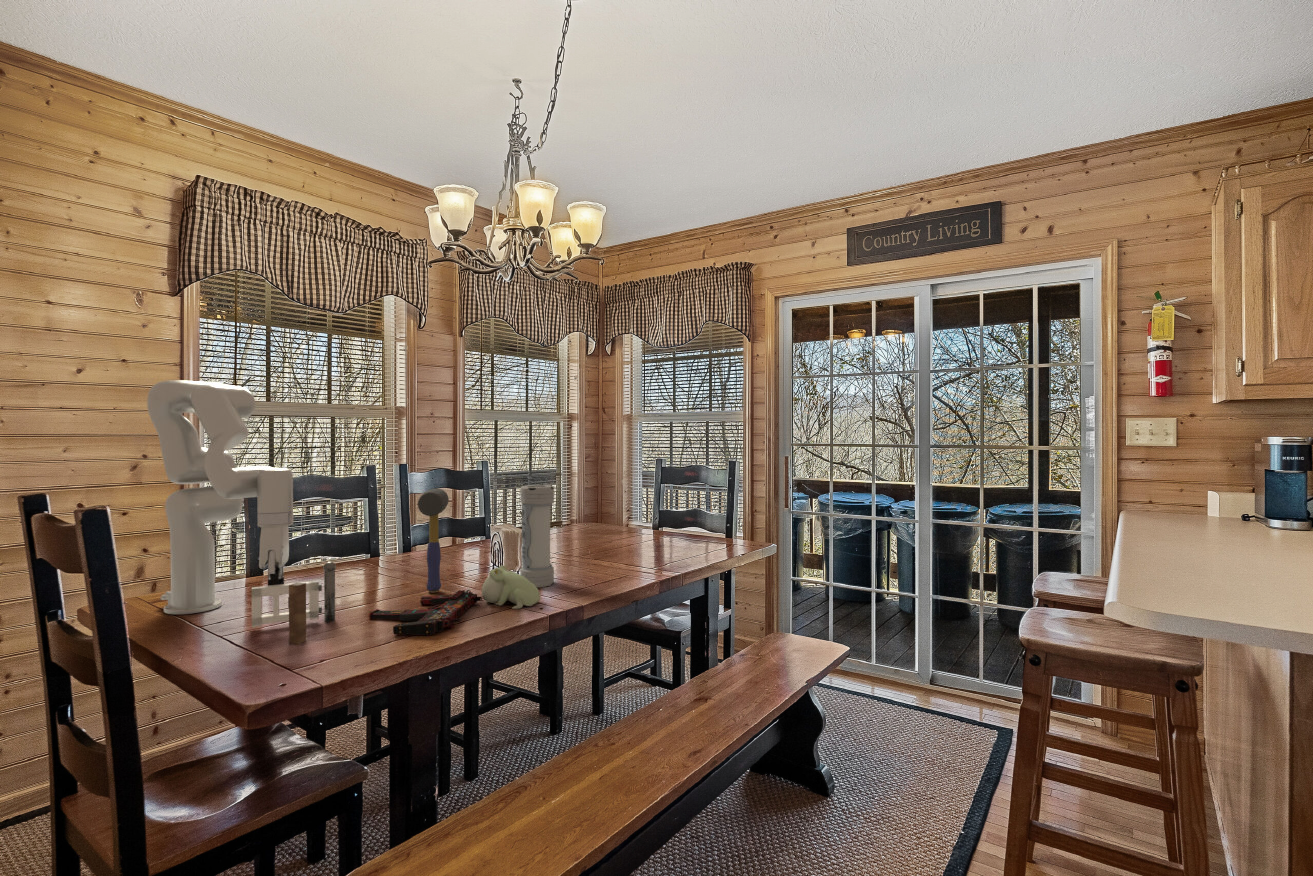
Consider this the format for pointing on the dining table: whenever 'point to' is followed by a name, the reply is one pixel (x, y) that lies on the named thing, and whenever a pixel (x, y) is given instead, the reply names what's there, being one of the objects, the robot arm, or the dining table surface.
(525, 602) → the figurine
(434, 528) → the rubber mallet
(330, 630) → the dining table surface
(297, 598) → the post
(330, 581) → the hinge post
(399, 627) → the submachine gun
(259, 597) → the gate
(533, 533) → the canister
